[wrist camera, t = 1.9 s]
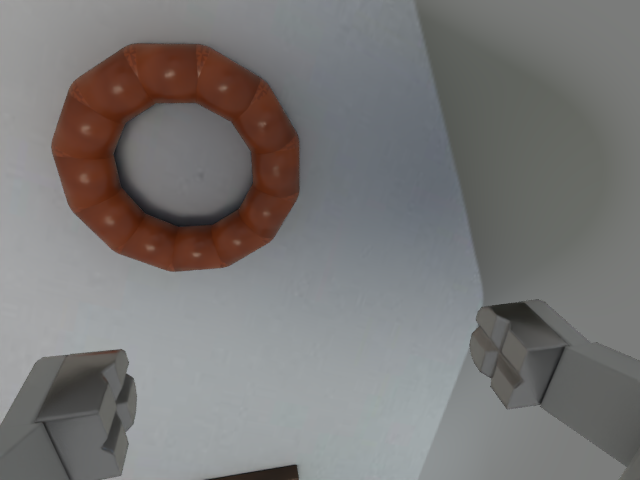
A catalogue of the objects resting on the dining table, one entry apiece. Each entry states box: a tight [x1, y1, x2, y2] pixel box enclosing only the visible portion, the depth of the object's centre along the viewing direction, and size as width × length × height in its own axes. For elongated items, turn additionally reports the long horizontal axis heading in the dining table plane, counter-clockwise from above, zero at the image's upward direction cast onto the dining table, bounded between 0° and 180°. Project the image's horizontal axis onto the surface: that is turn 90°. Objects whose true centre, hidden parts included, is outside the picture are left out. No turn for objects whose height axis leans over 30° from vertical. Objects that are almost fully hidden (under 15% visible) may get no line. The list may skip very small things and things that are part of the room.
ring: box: [51, 43, 299, 272], centre depth 20 cm, size 11×11×2 cm
